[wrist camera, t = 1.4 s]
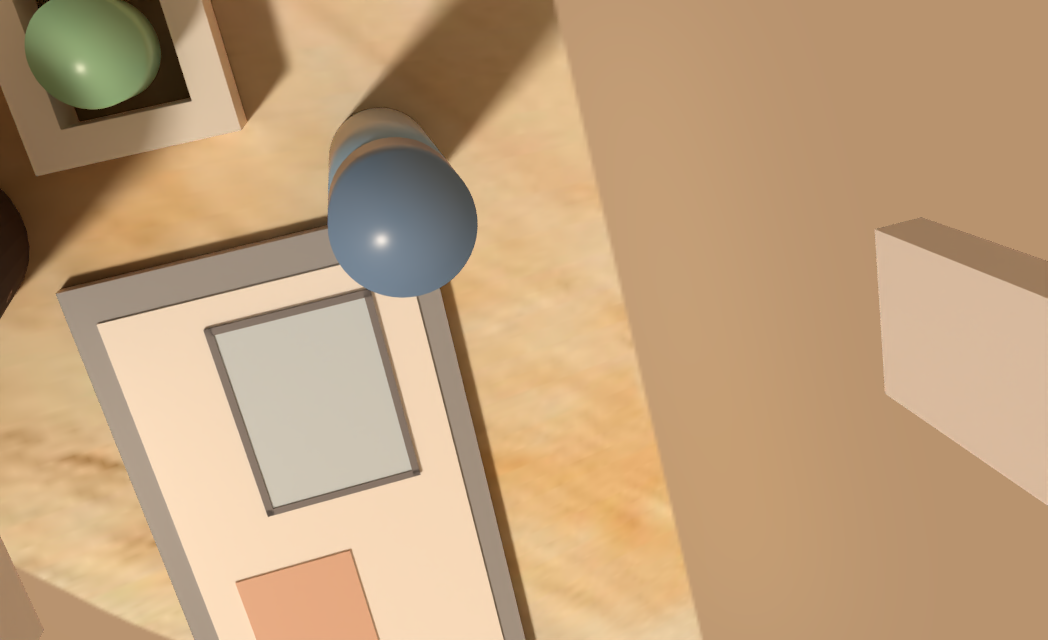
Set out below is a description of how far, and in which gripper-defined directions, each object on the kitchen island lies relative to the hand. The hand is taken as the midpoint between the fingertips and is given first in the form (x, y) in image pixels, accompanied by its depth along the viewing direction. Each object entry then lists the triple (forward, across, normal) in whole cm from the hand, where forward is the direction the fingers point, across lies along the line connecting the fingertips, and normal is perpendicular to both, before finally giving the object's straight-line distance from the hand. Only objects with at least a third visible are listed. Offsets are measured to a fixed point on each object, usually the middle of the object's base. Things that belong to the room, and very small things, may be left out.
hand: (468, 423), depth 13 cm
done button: (+22, -8, +6) cm, 25 cm away
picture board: (+24, -6, -14) cm, 29 cm away
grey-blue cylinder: (+24, 0, 0) cm, 24 cm away
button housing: (+24, -8, +6) cm, 26 cm away
